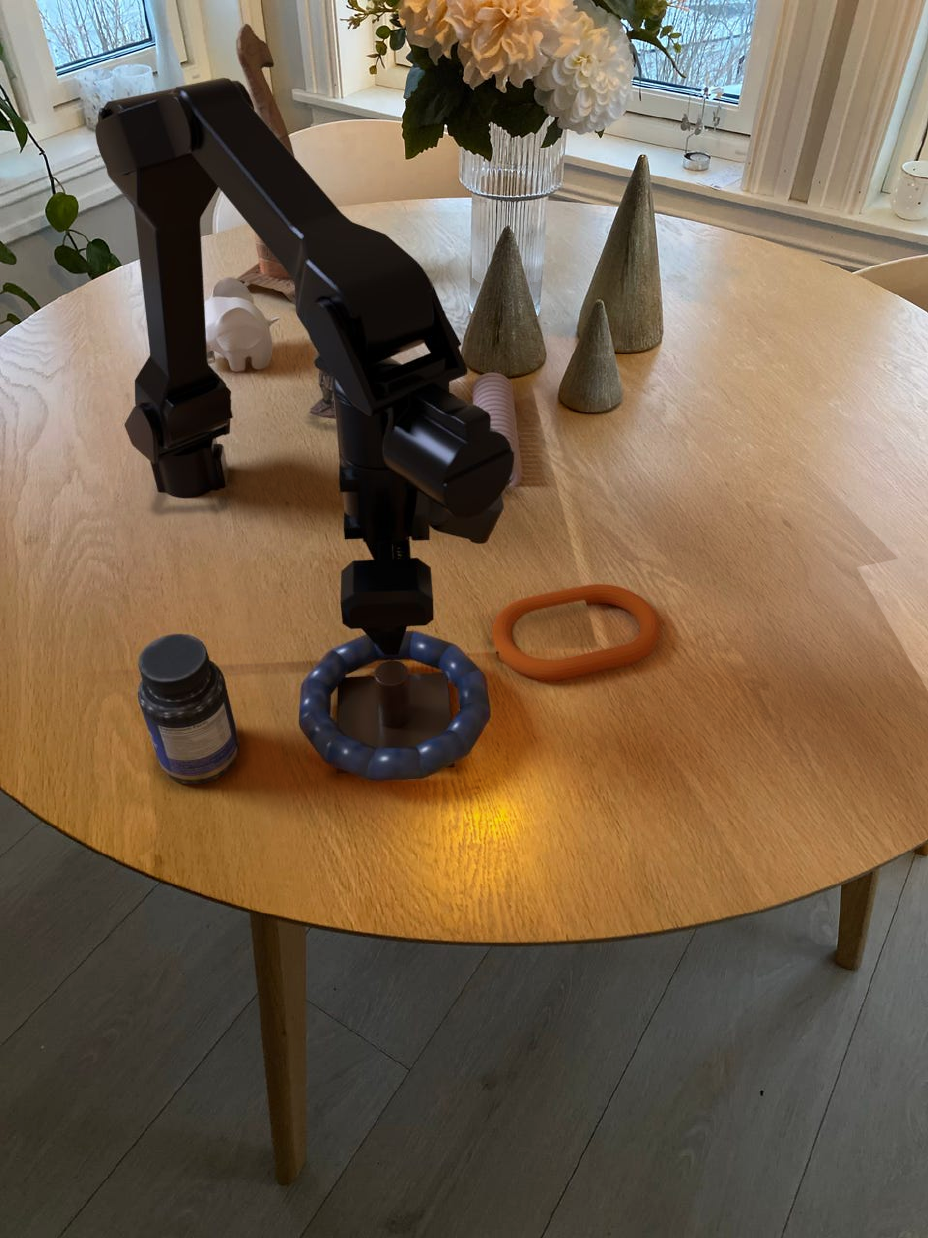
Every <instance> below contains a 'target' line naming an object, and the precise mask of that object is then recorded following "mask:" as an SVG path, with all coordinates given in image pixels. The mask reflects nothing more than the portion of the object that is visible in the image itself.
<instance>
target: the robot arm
mask: <svg viewBox="0 0 928 1238" xmlns="http://www.w3.org/2000/svg"><path fill="white" fill-rule="evenodd" d="M103 106H104V107H101V108H99V110H98V115H97V123H96V125H95V129H94V134H95V140H96V146H97V149H98V151H99V154H100V156H101V159H102V161H103V163H104V165H105V168H106V173H107V176H108V178H109V179H110V180H111V181H112V183H113V184H114V185H115V186H116V188H118V190H119V191H120V192H121V194H123V196H124V197H125V198H126V199H127V201H128V202H129V203H130V205H132V208H133V212H134V219H135V220H134V221H135V228H136V229H135V230H136V238H137V248H138V257H139V265H140V266H139V267H140V273H141V274H140V276H141V283H142V292H143V293H142V294H143V303H144V310H145V320H146V329H147V338H148V347H149V356H148V357H147V359H146V361H145V363H144V364H143V365H142V367H141V369H140V371H139V373H138V374H137V376H136V378H135V379H134V404H135V406H133V408H132V410H131V411H130V413H129V415H128V417H127V419H126V421H125V422H124V428H125V431H126V433H127V436H128V438H129V441H130V444H131V445H132V446H133V447H134V448H135V449H136V450H137V451H138V452H140V454H142V455H143V457H145V458H146V460H148V461H149V462H150V466H151V471H152V474H153V478H154V483H155V486H156V490H157V492H158V493H166V494H167V495H168V496H171V497H174V498H178V499H193V498H199V497H201V496H204V495H206V494H209V493H210V492H214V491H219V490H221V489H226V488H227V486H228V479H229V475H230V474H229V468H228V463H227V462H228V461H227V458H226V457H227V456H226V452H225V445H224V444H222V443H218V440H217V438H220V437H222V436H227V435H230V433H231V420H232V419H233V418H234V416H233V412H232V398H231V397H232V390H231V389H230V388H229V387H228V386H227V384H226V382H225V381H224V380H223V379H222V377H220V376H219V374H218V373H217V372H216V371H215V370H214V369H213V368H212V367H211V366H210V364H208V361H207V346H206V326H205V306H204V303H205V291H204V290H205V288H204V287H205V286H204V270H203V250H202V249H203V247H202V231H201V230H202V229H201V228H202V227H201V218H202V216H203V214H204V213H205V211H206V210H207V207H208V206H209V204H210V203H211V202H212V199H213V198H214V196H215V194H216V192H218V191H217V190H218V189H219V190H220V191H221V192H222V194H223V195H224V196H225V197H226V198H227V200H228V201H229V202H230V203H231V204H232V206H233V207H234V209H236V211H237V212H238V213H239V214H240V216H241V217H242V218H243V219H244V221H245V222H246V223H247V224H248V225H249V227H250V228H251V229H252V230H253V232H254V231H255V233H256V234H257V235H258V236H259V238H260V239H261V240H262V241H263V242H264V244H265V245H266V246H267V247H268V249H269V250H270V251H271V252H272V254H273V255H274V256H275V257H276V258H277V260H278V261H279V262H280V263H281V265H282V266H283V267H284V268H285V270H286V271H287V273H288V274H289V276H290V278H291V281H293V282H294V285H295V302H296V305H295V313H296V316H297V318H298V320H299V321H300V323H301V324H302V326H303V327H304V329H305V330H306V332H307V334H308V336H309V339H310V341H311V343H312V346H313V347H314V348H315V350H316V352H317V351H318V353H319V356H318V357H317V356H316V357H315V358H314V359H313V364H314V366H315V368H316V369H317V370H318V371H319V370H320V371H322V372H323V373H325V374H326V375H328V376H329V377H331V378H332V386H333V397H334V407H335V418H336V419H335V426H336V427H335V428H336V437H337V445H338V446H337V448H338V449H337V450H338V458H339V466H338V467H339V468H338V469H339V470H338V483H339V493H342V499H343V500H342V501H343V510H344V511H343V536H344V540H362V542H363V543H365V545H366V547H367V549H368V551H369V553H370V555H371V557H372V559H357V560H354V559H353V560H352V561H351V562H350V563H349V564H347V565H346V566H345V567H344V568H343V569H342V570H341V571H340V603H339V604H340V611H341V612H340V613H341V622H342V624H343V626H345V627H347V628H348V629H350V630H355V629H356V630H357V629H359V630H360V629H361V630H362V631H363V632H364V634H367V635H368V636H369V638H370V639H371V640H372V641H373V642H374V643H375V645H376V646H377V647H378V648H379V649H380V650H381V651H382V653H383V654H384V655H397V654H399V651H400V648H401V645H402V641H403V638H404V635H405V632H406V631H407V629H408V627H423V626H427V625H428V624H430V623H431V622H432V621H434V619H435V618H434V614H435V613H434V592H433V591H434V590H433V579H432V568H431V566H430V565H428V564H427V563H425V562H424V561H423V560H421V559H420V558H419V557H412V555H411V540H412V541H414V542H419V541H420V542H421V541H430V540H431V536H430V535H431V534H430V531H431V530H430V528H431V529H432V530H434V531H436V532H438V533H442V534H445V535H446V534H447V535H449V536H454V537H459V538H461V539H462V538H463V539H467V540H469V541H470V542H471V543H472V544H478V545H483V544H487V542H488V541H489V539H490V537H491V535H492V533H493V531H494V529H495V527H496V525H497V523H498V521H499V519H500V517H501V515H502V513H503V511H504V508H505V506H504V499H503V495H502V494H503V492H504V490H505V489H506V487H507V485H508V484H509V481H510V480H509V479H510V476H511V473H512V470H513V465H514V452H513V451H512V449H511V446H510V442H509V441H508V440H507V438H506V437H505V436H504V435H502V434H501V433H499V432H497V431H496V430H494V429H493V428H491V416H490V414H489V413H488V412H486V411H485V410H483V409H481V408H480V407H478V406H476V405H473V403H470V402H467V401H465V400H463V399H461V398H460V397H459V396H456V395H455V394H454V393H453V392H452V393H451V392H450V383H451V382H454V381H456V380H458V379H460V378H463V377H466V376H467V375H468V373H469V371H468V367H467V365H466V362H465V359H464V357H463V355H462V353H461V350H460V347H461V346H462V343H461V341H460V338H459V337H458V335H457V333H456V331H455V330H454V328H453V326H452V324H451V322H450V320H449V318H448V317H447V313H446V312H445V310H444V308H443V306H442V303H441V301H440V299H439V296H438V293H437V291H436V288H435V286H434V284H433V282H432V280H431V278H430V277H429V275H428V274H427V272H426V270H425V269H424V267H423V266H422V265H420V264H419V262H418V261H417V260H416V259H414V257H412V256H411V255H410V254H409V253H408V252H407V251H405V250H404V249H403V248H402V247H401V246H400V245H399V244H397V243H396V242H395V241H394V240H393V239H392V238H391V237H389V236H388V234H385V233H383V232H381V231H378V230H375V229H373V228H370V227H367V226H364V225H361V224H359V223H356V222H353V221H352V220H350V219H349V218H348V217H347V216H345V214H343V213H342V212H341V210H340V209H339V208H338V207H337V206H336V205H335V203H334V202H333V201H332V200H331V199H330V197H329V196H328V195H327V194H326V192H325V191H324V190H323V189H322V188H321V186H319V184H318V183H317V182H316V181H315V180H314V179H313V177H312V176H311V175H310V174H309V173H308V171H307V170H306V169H305V167H304V166H302V164H301V163H300V162H299V161H298V160H297V159H296V156H295V155H294V156H295V157H294V156H293V155H292V154H291V153H290V152H289V150H288V149H287V148H286V147H285V146H284V145H283V143H282V142H281V141H280V140H279V139H278V137H277V136H276V135H275V134H274V133H273V132H272V130H271V129H270V128H269V127H268V126H267V124H266V123H265V122H264V121H263V120H262V119H261V117H260V116H259V115H258V114H257V113H256V112H255V110H254V105H253V102H252V100H251V97H250V93H249V90H248V89H247V87H245V85H244V84H243V83H241V82H240V81H239V80H231V79H230V78H227V77H220V78H215V79H210V80H206V81H201V82H200V81H199V82H195V83H190V84H185V85H180V86H176V87H174V88H168V89H163V90H158V91H153V92H149V93H144V94H138V95H134V96H127V97H122V98H118V99H113V100H107V102H105V105H103ZM423 344H424V346H425V347H426V348H427V349H428V351H429V353H426V354H424V355H422V356H418V357H416V358H414V359H411V360H409V361H407V362H404V363H401V362H399V361H397V359H394V358H392V357H394V356H398V355H399V354H402V353H405V352H407V351H410V350H412V349H414V348H417V347H420V346H422V345H423Z"/></svg>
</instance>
